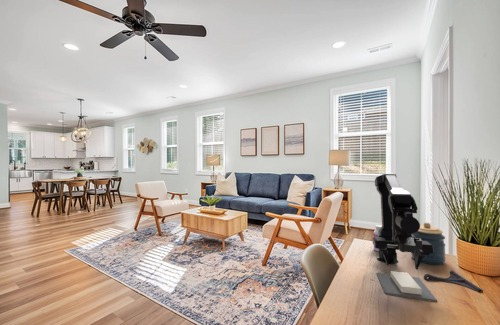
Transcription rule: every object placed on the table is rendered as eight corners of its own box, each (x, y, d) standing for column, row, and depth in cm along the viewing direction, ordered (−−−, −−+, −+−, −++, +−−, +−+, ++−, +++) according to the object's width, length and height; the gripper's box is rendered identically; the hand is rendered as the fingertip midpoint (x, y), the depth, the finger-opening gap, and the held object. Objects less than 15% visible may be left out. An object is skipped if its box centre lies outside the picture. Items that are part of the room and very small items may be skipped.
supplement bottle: (370, 249, 124) (370, 225, 124) (379, 247, 126) (379, 223, 126) (382, 253, 117) (381, 228, 118) (391, 251, 120) (390, 226, 120)
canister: (428, 266, 102) (427, 226, 102) (404, 255, 115) (403, 220, 115) (453, 264, 104) (452, 225, 104) (427, 253, 117) (426, 218, 117)
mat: (376, 273, 96) (376, 272, 96) (419, 279, 91) (418, 277, 91) (385, 294, 81) (385, 292, 81) (437, 301, 76) (437, 300, 76)
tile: (390, 271, 92) (401, 286, 80) (407, 272, 90) (421, 288, 78) (390, 276, 92) (401, 293, 80) (407, 278, 90) (421, 295, 78)
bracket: (414, 272, 98) (414, 266, 98) (454, 274, 95) (454, 268, 95) (436, 291, 84) (435, 283, 84) (483, 294, 81) (483, 286, 81)
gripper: (377, 229, 82) (378, 273, 82) (441, 234, 76) (442, 281, 76) (372, 222, 93) (372, 261, 93) (427, 225, 87) (428, 267, 87)
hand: (402, 267), depth 87 cm, fingers open, 9 cm apart
